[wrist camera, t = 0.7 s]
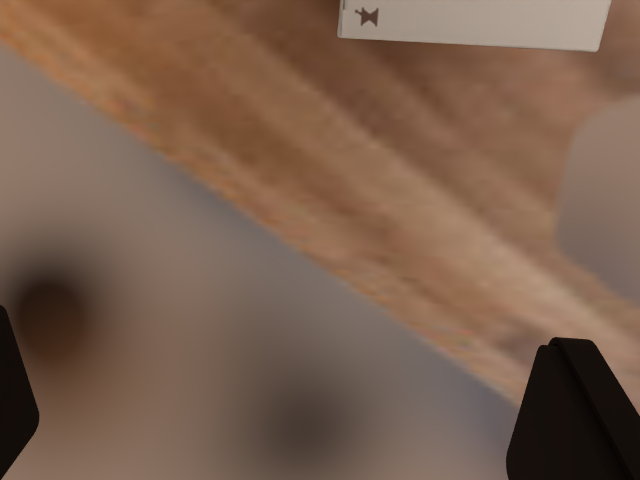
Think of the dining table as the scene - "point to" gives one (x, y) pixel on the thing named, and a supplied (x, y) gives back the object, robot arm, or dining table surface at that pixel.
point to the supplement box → (479, 22)
